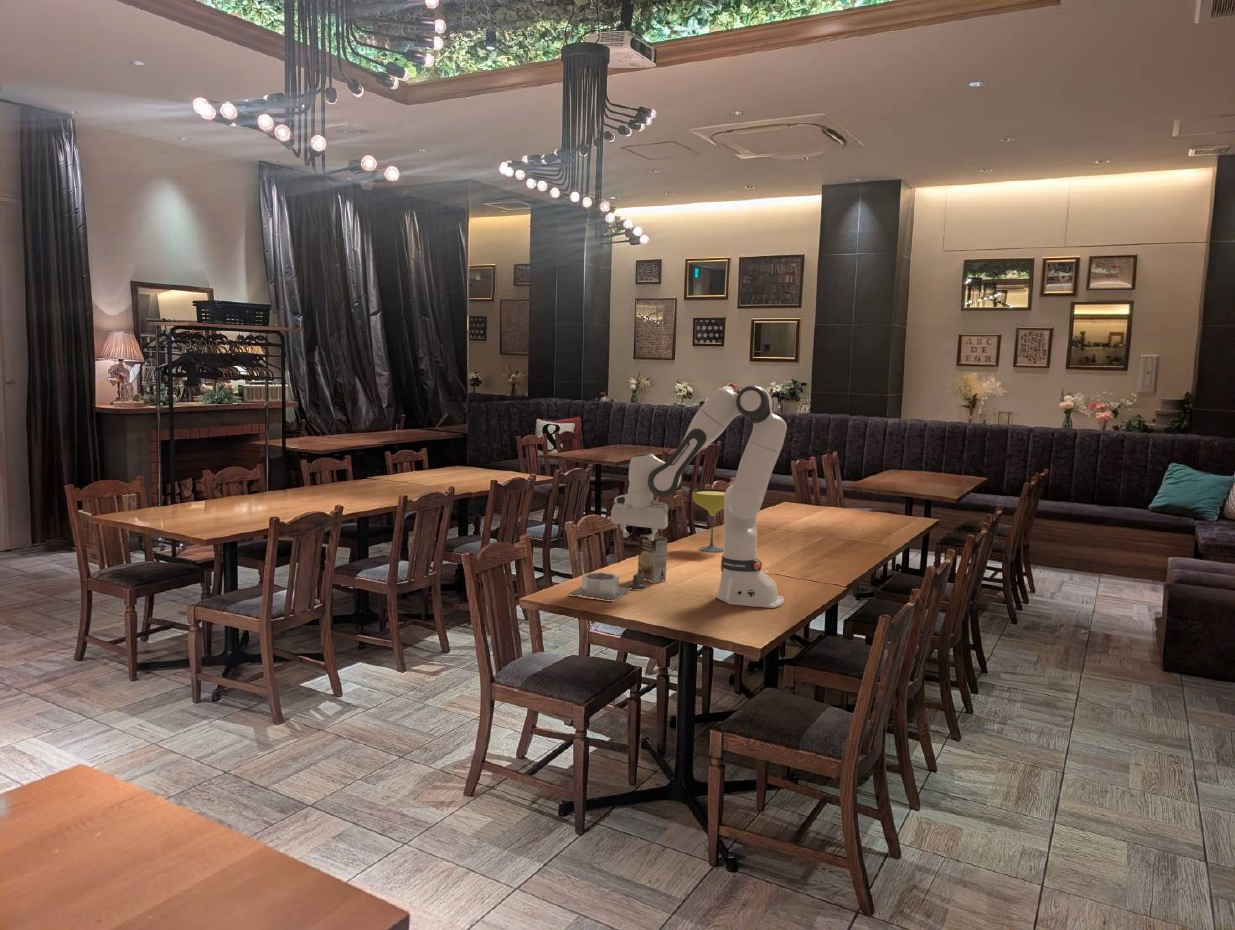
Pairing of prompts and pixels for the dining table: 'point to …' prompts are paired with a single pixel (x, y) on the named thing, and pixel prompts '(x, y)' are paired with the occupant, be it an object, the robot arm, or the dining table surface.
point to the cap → (637, 582)
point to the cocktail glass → (710, 509)
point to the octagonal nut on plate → (600, 586)
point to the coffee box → (652, 558)
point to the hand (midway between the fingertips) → (638, 538)
